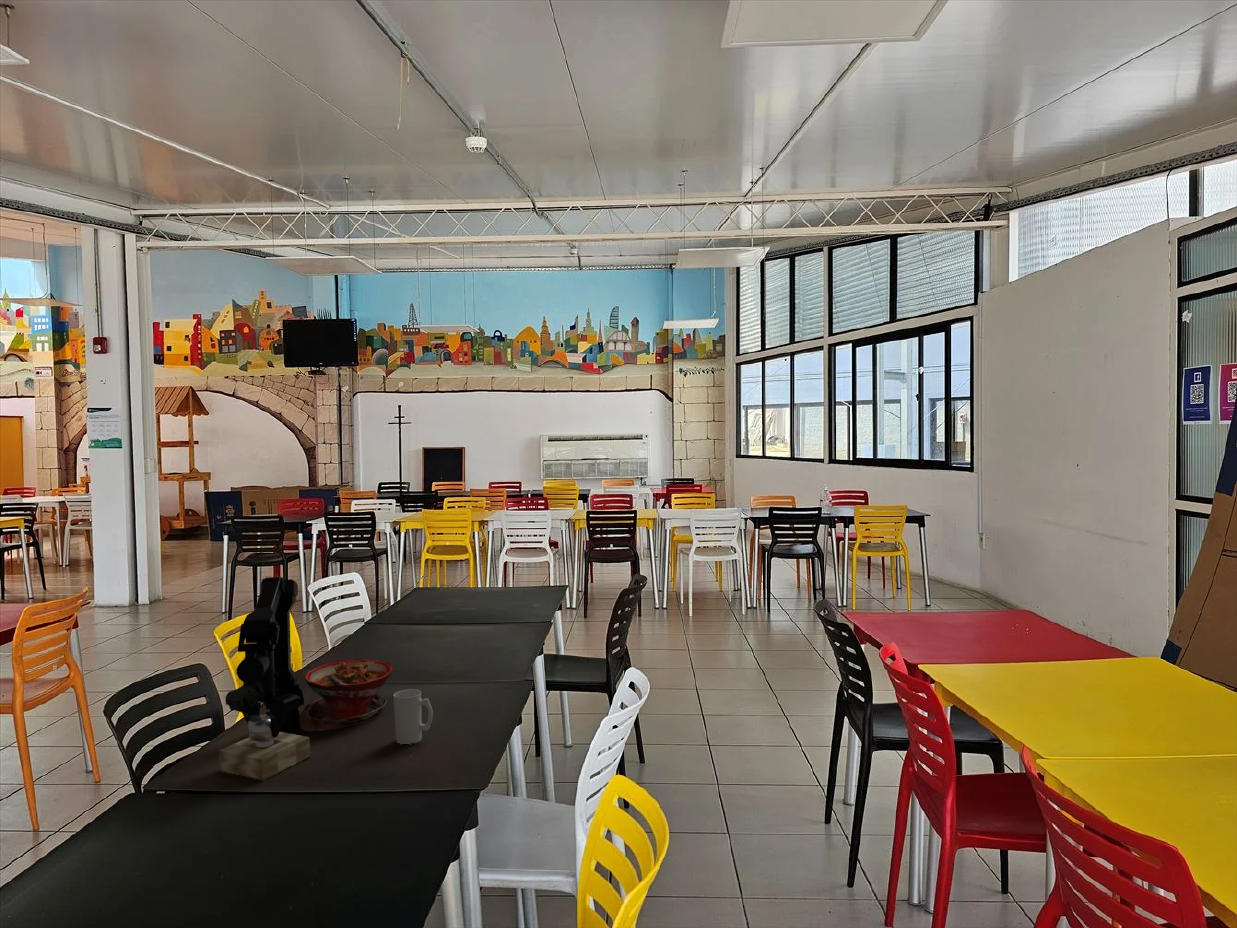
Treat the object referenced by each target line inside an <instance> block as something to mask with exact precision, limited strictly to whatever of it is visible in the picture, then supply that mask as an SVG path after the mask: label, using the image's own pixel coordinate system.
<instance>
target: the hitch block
mask: <svg viewBox="0 0 1237 928" xmlns="http://www.w3.org/2000/svg"><path fill="white" fill-rule="evenodd" d="M308 757H310V758H311V741H310V737H309V736H304V735H298V734H295V733H290V732H289V733H284V732H279V735H278V736H277V737H276V738H274V745H273V746H271V747H269V748H266V749H264V750H263V749H258V748H256V743H255V741H252V740H250V739H249V737H247V738H244V739H243V740H240V741H238V742H235V743H233V744H230V745H229V746H226V747H224V748H221V749H219V750H218V762H219V770H220V769H221V770H224V771H228V772H232V773H237V774H240V775H245V776H250V777H253V778H259V779H266V778H269V777H271V776H273V775H275V774H277V773H278V772H280V771H282V770H284V769H286V768H287V767H289V766H293V765H295V764H296V763H298V762H300V761H302V760H304V759H306V758H308ZM295 766H296V765H295ZM293 767H294V766H293ZM277 775H278V774H277ZM275 776H276V775H275ZM273 777H274V776H273ZM271 778H272V777H271ZM269 779H270V778H269ZM266 780H267V779H266Z"/></svg>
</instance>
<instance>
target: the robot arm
mask: <svg viewBox="0 0 1237 928" xmlns="http://www.w3.org/2000/svg"><path fill="white" fill-rule="evenodd" d="M298 595H299V586H298V583H297V581H295V580H294V579H292V578H291V579H288V578H285V577H282V576H270V577H269V576H268V577H265V578H262V579H261V582H260V592H259V595H258V599H257V602H256V606H255V608H254V610H253V611H251V612H249V613H248V614H247V615H246V616H245V618H244V621H243V623H241V625H240V628H239V629H240V630H239V638H238V644H237V645H238V646H237V652H238V653H244V658H243V659H242V660H241V661H240V662H239V664H238V666H237V668H236V675H237V676H236V677H237V678H238V679H239V680H240V681H241V682H243V683H242V685H241V686H240V687H238V688H235V689H233V690H231V691H229V692H227V694H226V695H225V705H226V706H228V707H229V710H230V711H232V712H233V711H237V712H238V713H242V716H243V717H244V719H245V721H246V724H247V725H248V721H249V719H251V718H253V717H255V716H259V715H261V714H260V711H261V706H262V705H265V710H267V712H265V714H266V715H268V716H269V717H270V721H271V730H272V736H273V738H276V737H277V736H278V734H279V732H284V733H288V732H289V733H290V732H291V733H292V732H293V731H295V730H297V729H299V728H300V726H302V725H303V724H302V725H301V724H300V720H299V714H300V710H299V708H301V706H303V705H305V695H304V692H303V688H302V687H301V684H300V683H299V679H298V675H297V674H296V672H295V671H294V670H293V668H292V659H291V658H292V657H291V654H292V649H291V648H292V647H291V611H292V609H293V607H294V606H295V604H296V601H297V596H298ZM268 710H269V711H268ZM300 729H301V728H300Z"/></svg>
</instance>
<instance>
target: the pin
mask: <svg viewBox="0 0 1237 928" xmlns="http://www.w3.org/2000/svg"><path fill="white" fill-rule="evenodd" d="M247 726H248V738H249V739H250V740H252V741H255V743H256V748H258V749H263V750H264V749H266V748H269V747H271V746H273V745H274V738H273V736H272V730H271V721H270V717H269V716H268V715H266V714H259V716H255V717H253V718H251V719H249V721H248V724H247ZM278 735H279V734H278Z"/></svg>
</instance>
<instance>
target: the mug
mask: <svg viewBox="0 0 1237 928" xmlns="http://www.w3.org/2000/svg"><path fill="white" fill-rule="evenodd" d="M422 706H425V708H426V709H427V711H428V717H427V722H426V723H423V722H422V721H423V720H422ZM393 711H394V725H395V727H394V728H395V739H396V740H395V742H396V743H397V744H398V743H400V744H399V745H402V744H409V745H412V744H411V743H414V744H416V743H419V742H420V741H422V739H423V738H422V736H423V734H422V733H423V731H426V732H427V731H429V729H430V727H431V724H432V722H433V718H434V711H433V707H432V705H431V702H430V700H429V698H423V699H422V691H421V690H419V689H415V688H414V689H411V688H409V689H408V688H407V689H403V690H399V691H396V692H395V693H393Z"/></svg>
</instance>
